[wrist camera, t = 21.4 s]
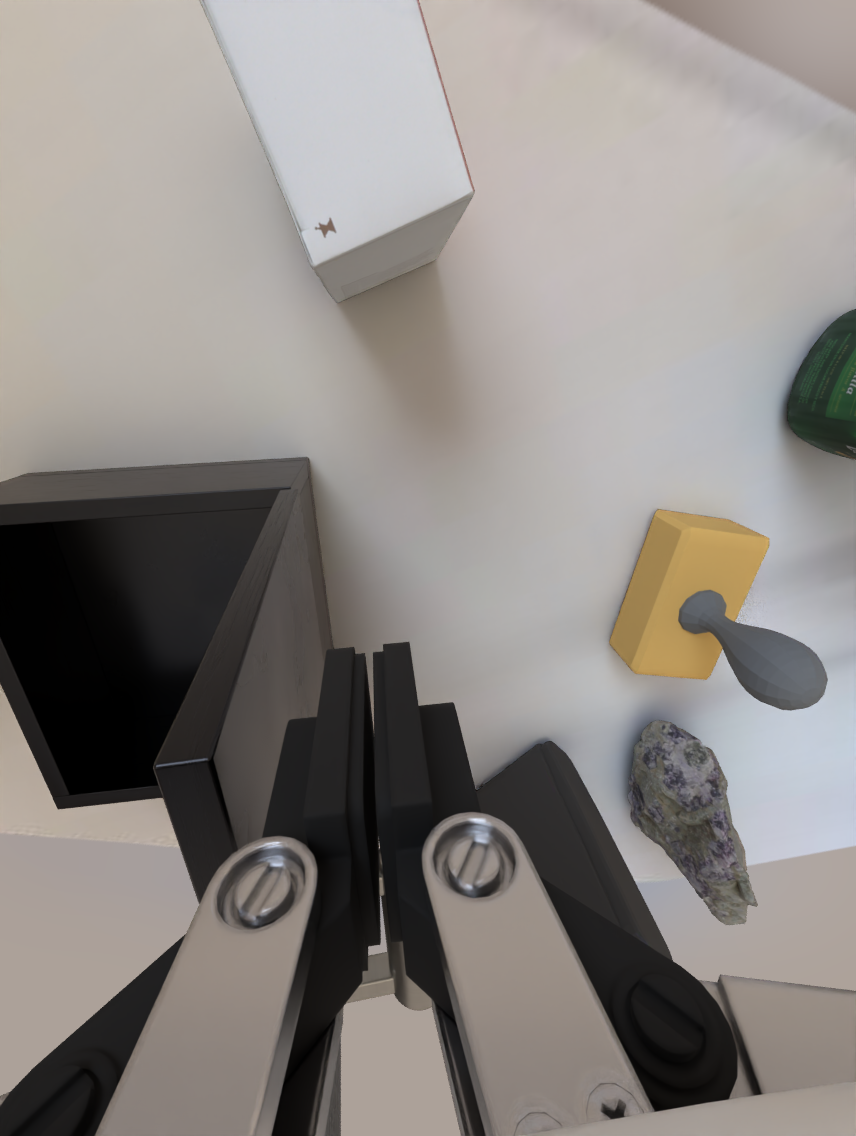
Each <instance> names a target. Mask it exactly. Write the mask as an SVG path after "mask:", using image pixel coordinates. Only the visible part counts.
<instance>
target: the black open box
mask: <svg viewBox="0 0 856 1136" xmlns="http://www.w3.org/2000/svg"><path fill="white" fill-rule="evenodd" d="M289 489H298V490H299V494H300V501H301V508H302V515H303V522H304V529H305V536H306V543H307V550H308V557H309V564H310V571H311V578H312V585H313V592H314V599H315V606H316V613H317V620H318V627H319V634H320V641H321V648H322V655H323V662H324V664H325V657H326V651H327V650H328V649H334V648H333V640H332V633H331V625H330V618H329V610H328V602H327V595H326V587H325V580H324V572H323V565H322V557H321V549H320V542H319V534H318V527H317V519H316V512H315V504H314V497H313V489H312V481H311V474H310V466H309V459H308V457H302V458H284V459H267V460H250V461H232V462H215V463H198V464H180V465H163V466H146V467H129V468H111V469H94V470H77V471H59V472H42V473H27V474H24V475H21V476H18V477H15V478H12V479H9V480H6V481H3V482H1V483H0V684H1V686H2V688H3V690H4V692H5V695H6V697H7V699H8V701H9V703H10V705H11V708H12V710H13V712H14V714H15V716H16V719H17V721H18V723H19V725H20V727H21V730H22V732H23V734H24V736H25V738H26V740H27V743H28V745H29V747H30V749H31V751H32V754H33V756H34V758H35V760H36V762H37V764H38V767H39V769H40V771H41V773H42V775H43V778H44V780H45V782H46V784H47V786H48V788H49V791H50V793H51V795H52V797H53V800H54V802H55V804H56V806H57V809H66V808H75V807H84V806H93V805H101V804H110V803H119V802H128V801H137V800H146V799H155V798H163V796H162V793H161V790H160V787H159V784H158V781H157V778H156V775H155V772H154V769H153V766H154V763H155V761H156V758H157V756H158V754H159V752H160V750H161V748H162V745H163V743H164V741H165V739H166V737H167V735H168V732H169V730H170V728H171V726H172V724H173V722H174V719H175V717H176V715H177V713H178V711H179V709H180V706H181V704H182V702H183V700H184V698H185V696H186V693H187V691H188V689H189V687H190V685H191V683H192V680H193V678H194V676H195V674H196V672H197V669H198V667H199V665H200V663H201V661H202V659H203V656H204V654H205V652H206V650H207V648H208V646H209V643H210V641H211V639H212V637H213V635H214V633H215V630H216V628H217V626H218V624H219V622H220V620H221V617H222V615H223V613H224V611H225V609H226V607H227V604H228V602H229V600H230V598H231V596H232V594H233V591H234V589H235V587H236V585H237V583H238V581H239V578H240V576H241V574H242V572H243V570H244V568H245V565H246V563H247V561H248V559H249V557H250V555H251V552H252V550H253V548H254V546H255V544H256V541H257V539H258V537H259V535H260V533H261V531H262V528H263V526H264V524H265V522H266V520H267V518H268V515H269V513H270V511H271V509H272V507H273V505H274V502H275V500H276V498H277V496H278V494H279V492H280V490H289Z"/></svg>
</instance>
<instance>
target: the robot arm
mask: <svg viewBox="0 0 856 1136" xmlns="http://www.w3.org/2000/svg"><path fill="white" fill-rule="evenodd" d="M373 679H374V730H373V721H372V712H371V702H370V693H369V684H368V674H367V665H366V656H365V653H362V654H355V649H354V647H350V648H339V649H328V650H327V651H326V657H325V664H324V671H323V678H322V685H321V692H320V698H319V705H318V712H317V717H308V718H299V719H290V720H289V721H288V724H287V727H286V731H285V735H284V740H283V744H282V749H281V753H280V758H279V762H278V767H277V772H276V776H275V781H274V785H273V790H272V794H271V799H270V803H269V808H268V812H267V817H266V821H265V826H264V830H263V835H262V839H259V840H257V841H254V842H251V843H249V844H247V845H245V846H244V847H242V848H241V849H239V850H238V851H236V852H235V853H233V854H232V855H231V856H230V857H229V858H228V859H227V860H226V861H225V862H224V863H223V864H222V865H221V866H220V867H219V868H218V870H217V871H216V873H215V875H214V876H213V878H212V879H211V881H210V883H209V885H208V887H207V889H206V891H205V893H204V896H203V898H202V900H201V902H200V904H199V907H198V909H197V911H196V913H195V915H194V918H193V920H192V922H191V924H190V927H189V929H188V931H187V933H186V934H185V935H184V936H183V937H182V938H181V939H179V940H178V941H177V942H176V943H175V944H174V945H173V946H172V947H170V948H169V949H168V950H167V951H166V952H165V953H164V954H163V955H161V956H160V957H159V958H158V959H157V960H156V961H154V962H153V963H152V964H151V965H150V966H149V967H148V968H147V969H145V970H144V971H143V972H142V973H141V974H140V975H139V976H138V977H136V978H135V979H134V980H133V981H132V982H131V983H130V984H129V985H127V986H126V987H125V988H124V989H123V990H122V991H120V992H119V993H118V994H117V995H116V996H115V997H114V998H112V999H111V1000H110V1001H109V1002H108V1003H107V1004H106V1005H104V1007H102V1008H101V1009H100V1010H99V1011H98V1012H97V1013H95V1015H93V1016H92V1017H91V1018H90V1019H89V1020H88V1021H86V1022H85V1023H84V1024H83V1025H82V1026H81V1027H80V1028H78V1029H77V1030H76V1031H75V1032H74V1033H73V1034H72V1035H70V1036H69V1037H68V1038H67V1039H66V1040H65V1041H64V1042H62V1043H61V1044H60V1045H59V1046H58V1047H57V1048H56V1049H54V1050H53V1051H52V1052H51V1053H50V1054H49V1055H48V1056H47V1057H45V1058H44V1059H43V1060H42V1061H41V1062H40V1063H39V1064H37V1065H36V1066H35V1067H34V1068H33V1069H32V1070H31V1071H30V1072H29V1073H28V1074H27V1075H26V1076H25V1078H23V1079H22V1080H21V1082H19V1084H18V1085H17V1086H16V1087H15V1088H14V1089H13V1090H12V1091H11V1092H9V1093H6V1094H4V1095H1V1096H0V1136H325V1131H326V1125H327V1119H328V1112H329V1106H330V1100H331V1094H332V1087H333V1081H334V1075H335V1068H336V1062H337V1056H338V1050H339V1043H340V1037H341V1030H342V1024H343V1006H344V1005H345V1004H346V1002H347V1001H348V1000H349V998H350V997H351V996H352V995H353V993H354V992H355V991H356V989H357V988H358V987H359V986H360V984H361V983H362V982H363V971H368V946H374V945H380V942H381V938H380V937H381V934H380V932H381V930H380V882H379V843H380V852H381V860H382V869H383V878H384V887H385V895H386V904H387V913H388V922H389V931H390V939H391V943H394V942H401V941H403V951H404V961H405V971H406V976H407V977H409V978H410V979H411V980H412V981H413V982H414V983H415V984H416V985H417V986H418V987H419V988H420V989H421V990H423V991H424V992H425V993H426V994H427V995H428V996H429V997H430V998H431V1001H432V1010H433V1014H434V1019H435V1023H436V1027H437V1032H438V1036H439V1040H440V1045H441V1050H442V1053H443V1058H444V1063H445V1067H446V1072H447V1076H448V1081H449V1085H450V1089H451V1094H452V1098H453V1102H454V1107H455V1111H456V1116H457V1120H458V1125H459V1129H460V1133H461V1136H856V991H852V990H843V989H835V988H826V987H818V986H810V985H802V984H794V983H785V982H776V981H768V980H760V979H752V978H744V977H734V976H727V975H720V977H719V980H718V983H717V982H709V981H701V980H697V979H696V978H695V977H693V976H692V975H691V974H690V973H688V972H687V971H686V970H685V969H683V968H682V967H681V966H679V965H678V964H676V963H675V962H673V961H672V960H670V959H669V958H667V957H665V956H664V955H662V954H661V953H659V952H658V951H656V950H654V949H653V948H651V947H650V946H648V945H647V944H645V943H643V942H642V941H640V940H639V939H637V938H636V937H634V936H633V935H631V934H629V933H628V932H626V931H625V930H623V929H622V928H620V927H618V926H617V925H615V924H614V923H612V922H611V921H609V920H607V919H606V918H604V917H603V916H601V915H600V914H598V913H597V912H595V911H593V910H592V909H590V908H589V907H587V906H586V905H584V904H582V903H581V902H579V901H578V900H576V899H575V898H573V897H572V896H570V895H568V894H567V893H565V892H564V891H562V890H561V889H559V888H557V887H556V886H554V885H553V884H551V883H550V882H548V881H546V880H545V879H543V878H542V877H540V876H539V875H538V873H537V871H536V869H535V867H534V865H533V863H532V861H531V859H530V857H529V855H528V853H527V851H526V849H525V847H524V845H523V843H522V841H521V840H520V838H519V837H518V835H517V834H516V833H515V831H514V830H513V829H512V828H511V827H509V826H508V825H507V824H506V823H504V822H503V821H502V820H500V819H498V818H495V817H493V816H491V815H488V814H483V813H481V810H480V806H479V802H478V798H477V794H476V790H475V786H474V782H473V778H472V773H471V769H470V765H469V761H468V757H467V753H466V749H465V745H464V741H463V737H462V733H461V729H460V725H459V721H458V717H457V713H456V709H455V705H454V703H453V702H452V703H442V704H432V705H423V706H418V699H417V692H416V685H415V678H414V671H413V664H412V657H411V650H410V643H409V642H403V643H392V644H383V652H373Z"/></svg>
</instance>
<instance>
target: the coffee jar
mask: <svg viewBox="0 0 856 1136" xmlns="http://www.w3.org/2000/svg"><path fill="white" fill-rule="evenodd" d="M788 422H789V424H790V427H791V429H792V430H793V432H794V433H795V434H796V435H797V436H798V437H800V438H801V439H803V440H804V441H806V442H808V443H810V444H812V445H814V446H816V447H818V448H820V449H822V450H824V451H827V452H830V453H833V454H836V455H840V456H843V457H847V458H851V459H855V460H856V309H854V310H852V311H849V312H847V313H846V314H844V315H842V316H841V317H839V318H838V319H837V320H836V321H834V322H833V323H832V324H831V325H830V326H829V327H828V328H827V329H826V330H825V332H824V333H823V334H822V335H821V337H820V338H819V339H818V341H817V342H816V343H815V345H814V346H813V347H812V349H811V350H810V352H809V354H808V356H807V357H806V359H805V360H804V362H803V364H802V365H801V368H800V370H799V372H798V374H797V376H796V379H795V381H794V383H793V387H792V391H791V394H790V397H789V402H788Z"/></svg>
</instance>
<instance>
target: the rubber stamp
mask: <svg viewBox="0 0 856 1136" xmlns="http://www.w3.org/2000/svg"><path fill="white" fill-rule="evenodd" d="M768 548H769V538H768V537H766V536H764V535H761V534H759V533H757V532H755V531H753V530H750V529H748V528H746V527H744V526H742V525H739V524H737V523H735V522H733V521H731V520H727V519H720V518H713V517H707V516H700V515H693V514H686V513H679V512H673V511H666V510H659V509H658V510H657V511H656V513H655V515H654V517H653V520H652V522H651V525H650V528H649V531H648V534H647V537H646V539H645V542H644V545H643V548H642V551H641V554H640V556H639V559H638V562H637V565H636V568H635V571H634V573H633V576H632V579H631V582H630V585H629V588H628V590H627V593H626V596H625V599H624V602H623V604H622V607H621V610H620V613H619V616H618V619H617V621H616V624H615V627H614V630H613V633H612V636H611V638H610V641H609V643H610V645H611V646H612V648H613V649H614V650H615V651H616V652H617V653H618V655H619V656H620V657H621V658H622V659H623V661H624V662H625V663H626V664H627V665H628V667H629V668H630V669H631V670H632V671H633V672H634V673H635V674H645V675H657V676H669V677H680V678H692V679H704V680H707V678H708V677H709V676H710V675H711V673H712V671H713V669H714V666H715V664H716V662H717V660H718V658H719V655H720V653H721V651H722V649H723V650H724V653H725V655H726V657H727V660H728V662H729V664H730V666H731V668H732V669H733V671H734V673H735V675H736V677H737V679H738V680H739V682H740V683H741V685H742V686H743V687H744V688H745V690H746V691H747V692H748V693H750V694H751V695H752V696H753V697H754V698H756V699H758V700H759V701H761V702H764V703H766V704H769V705H771V706H774V707H777V708H779V709H782V710H796V709H803V708H807V707H810V706H811V705H813V704H815V703H817V702H818V701H819V700H820V698H821V697H822V696H823V695H824V692H825V689H826V685H827V681H828V679H827V675H826V672H825V669H824V667H823V664H822V662H821V661H820V659H819V657H818V656H817V654H816V653H814V652H813V651H812V650H811V649H810V648H809V647H807V646H806V645H804V644H803V643H801V642H799V641H797V640H795V639H793V638H790V637H788V636H786V635H783V634H781V633H778V632H775V631H772V630H768V629H764V628H759V627H754V626H749V625H744V624H740V623H737V622H735V620H736V618H737V616H738V614H739V611H740V609H741V607H742V605H743V603H744V600H745V598H746V596H747V594H748V592H749V589H750V587H751V585H752V583H753V581H754V578H755V576H756V574H757V572H758V570H759V567H760V565H761V563H762V561H763V559H764V556H765V554H766V552H767V550H768Z"/></svg>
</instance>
